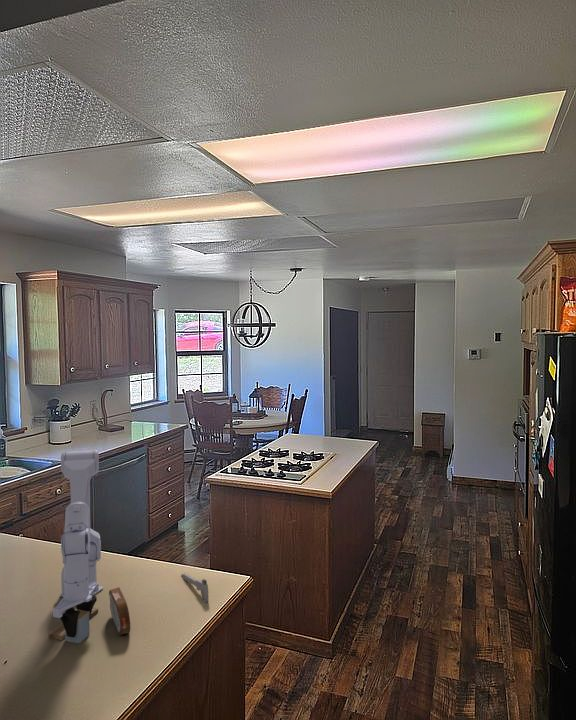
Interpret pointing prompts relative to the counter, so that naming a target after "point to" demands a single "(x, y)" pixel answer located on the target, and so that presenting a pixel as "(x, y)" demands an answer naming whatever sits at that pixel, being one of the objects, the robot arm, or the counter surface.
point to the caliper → (198, 585)
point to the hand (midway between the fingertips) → (77, 631)
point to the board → (60, 631)
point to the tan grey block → (80, 627)
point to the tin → (119, 611)
